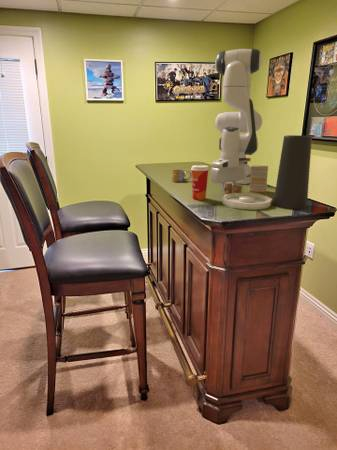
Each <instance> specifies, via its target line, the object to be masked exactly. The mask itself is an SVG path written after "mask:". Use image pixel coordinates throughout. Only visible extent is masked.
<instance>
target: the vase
mask: <svg viewBox="0 0 337 450" xmlns="http://www.w3.org/2000/svg"><path fill="white" fill-rule="evenodd" d="M312 139H313V137H312V136H311V135H291V134H290V135H284V136H283V141H282V146H281V147H282V149H281V154H280V159H279V160H280V161H279V165H278V172H277V178H276V184H275V189H274V198H273V201H272V204H273V206H274V207H276V208H280V209H285V210H304V209H306V208H308V207H307V206H308V198H309V197H308V195H309V184H310V183H309V181H310V169H311V167H310V166H311V157H312V156H311V154H312V142H313V141H312Z"/></svg>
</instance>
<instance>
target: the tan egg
mask: <svg viewBox="0 0 337 450" xmlns="http://www.w3.org/2000/svg"><path fill="white" fill-rule="evenodd" d="M224 186H225V188H226V191H224V192H223V191H222V193H223V195H225V194H231V193H232V183H226V182H225V185H224Z"/></svg>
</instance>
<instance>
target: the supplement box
mask: <svg viewBox="0 0 337 450" xmlns="http://www.w3.org/2000/svg"><path fill="white" fill-rule="evenodd" d="M250 167H251V175H250V183H249V193H264V194H266V193H267V189H268V185H267V184H268V172H269V165H251V166H250Z"/></svg>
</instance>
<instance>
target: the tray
mask: <svg viewBox="0 0 337 450" xmlns="http://www.w3.org/2000/svg"><path fill="white" fill-rule="evenodd" d="M220 197H221V198H220V199H221V203H222V205H223V206H226V207H228V208H232V209H237V210H238V209H239V210H248V211H249V210H251V211H252V210H253V211H254V210H255V211H256V210H265V209H268V208H270V207H272V204H273V198H271V197H270V196H268V195H263V194H259V193H255V192H241V193H231V194H223V195H222V196H220Z"/></svg>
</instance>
